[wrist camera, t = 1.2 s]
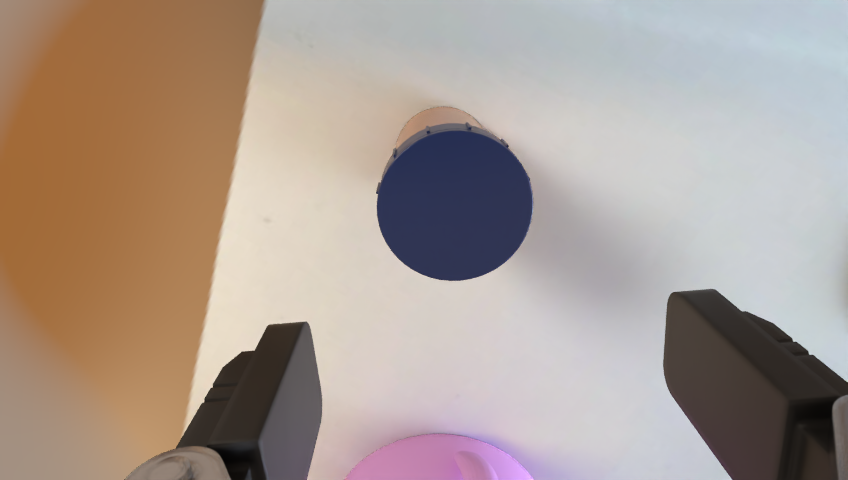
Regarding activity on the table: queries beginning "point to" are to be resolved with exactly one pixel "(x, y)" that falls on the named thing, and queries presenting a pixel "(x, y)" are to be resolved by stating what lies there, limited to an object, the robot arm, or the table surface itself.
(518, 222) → the lid
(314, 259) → the table surface
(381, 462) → the teapot
